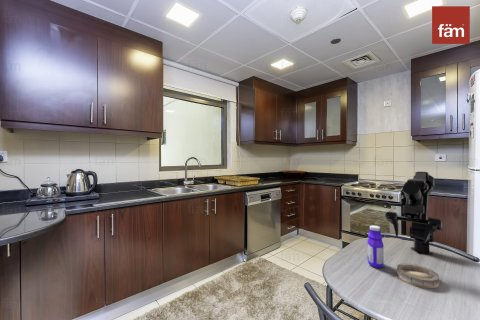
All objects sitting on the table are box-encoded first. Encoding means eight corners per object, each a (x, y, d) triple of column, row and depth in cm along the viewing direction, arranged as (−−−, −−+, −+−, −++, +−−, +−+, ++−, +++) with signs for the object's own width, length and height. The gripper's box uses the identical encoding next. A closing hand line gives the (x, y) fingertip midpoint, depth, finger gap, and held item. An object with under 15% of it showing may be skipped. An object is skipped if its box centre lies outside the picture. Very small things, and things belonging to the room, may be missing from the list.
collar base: (390, 269, 94) (390, 262, 94) (424, 271, 92) (424, 264, 92) (409, 287, 81) (409, 279, 81) (448, 289, 79) (448, 281, 79)
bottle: (386, 269, 94) (385, 229, 94) (371, 268, 95) (371, 228, 95) (379, 261, 101) (378, 224, 101) (365, 260, 102) (365, 223, 102)
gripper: (385, 194, 99) (379, 226, 93) (440, 199, 85) (438, 238, 79) (390, 205, 105) (385, 236, 99) (443, 211, 92) (441, 248, 86)
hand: (410, 239), depth 91 cm, fingers open, 9 cm apart
